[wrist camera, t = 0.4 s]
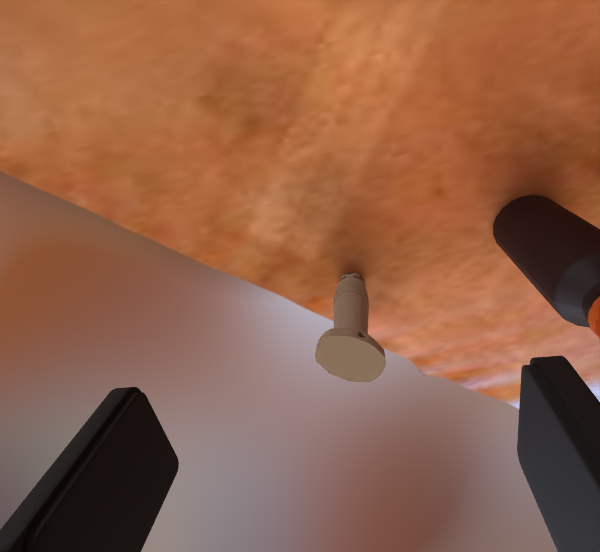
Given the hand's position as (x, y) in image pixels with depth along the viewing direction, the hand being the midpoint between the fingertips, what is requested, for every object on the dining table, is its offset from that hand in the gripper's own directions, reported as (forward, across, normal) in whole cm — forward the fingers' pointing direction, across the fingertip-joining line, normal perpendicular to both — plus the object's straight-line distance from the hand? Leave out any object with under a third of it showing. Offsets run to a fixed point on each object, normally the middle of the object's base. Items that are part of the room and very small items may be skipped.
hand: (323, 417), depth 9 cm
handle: (+36, +2, +15) cm, 39 cm away
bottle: (+36, -18, +10) cm, 41 cm away
